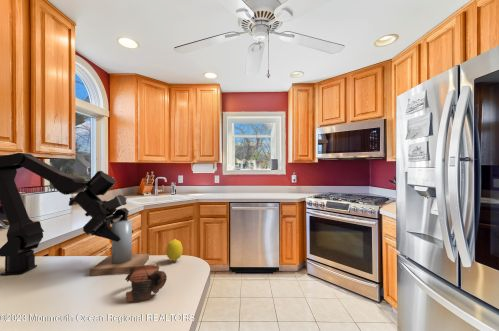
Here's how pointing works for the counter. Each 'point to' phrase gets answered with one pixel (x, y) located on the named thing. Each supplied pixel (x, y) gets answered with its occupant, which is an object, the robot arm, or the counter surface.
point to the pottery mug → (144, 282)
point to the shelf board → (118, 265)
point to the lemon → (174, 250)
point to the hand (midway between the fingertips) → (126, 236)
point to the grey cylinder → (122, 242)
